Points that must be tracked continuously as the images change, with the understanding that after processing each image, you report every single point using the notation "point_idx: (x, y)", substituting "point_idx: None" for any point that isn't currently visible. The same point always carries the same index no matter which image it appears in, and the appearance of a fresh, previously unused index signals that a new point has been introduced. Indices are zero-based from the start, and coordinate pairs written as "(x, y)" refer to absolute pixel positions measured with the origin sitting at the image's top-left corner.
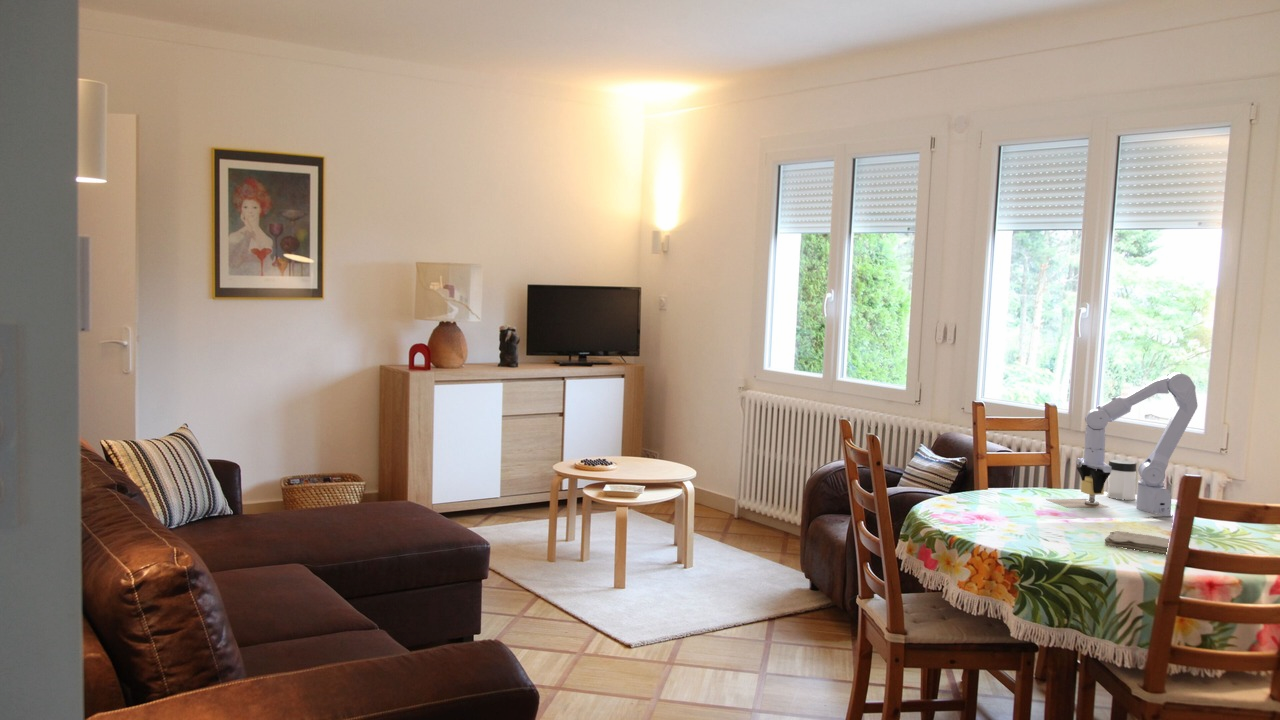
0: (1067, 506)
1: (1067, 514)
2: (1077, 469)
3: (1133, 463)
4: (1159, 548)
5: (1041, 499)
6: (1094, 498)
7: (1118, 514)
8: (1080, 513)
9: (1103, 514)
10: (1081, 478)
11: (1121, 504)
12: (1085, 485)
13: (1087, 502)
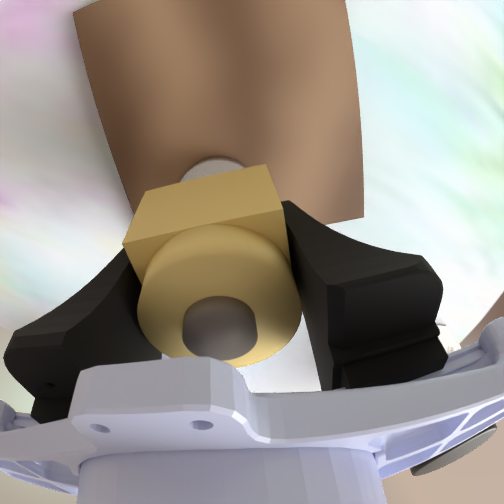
0: (111, 15)
1: (22, 8)
2: (412, 254)
3: (418, 474)
4: None
5: (427, 4)
6: None
7: (92, 260)
8: (54, 77)
9: (65, 193)
10: (329, 229)
11: None
12: (206, 204)
13: (194, 165)
